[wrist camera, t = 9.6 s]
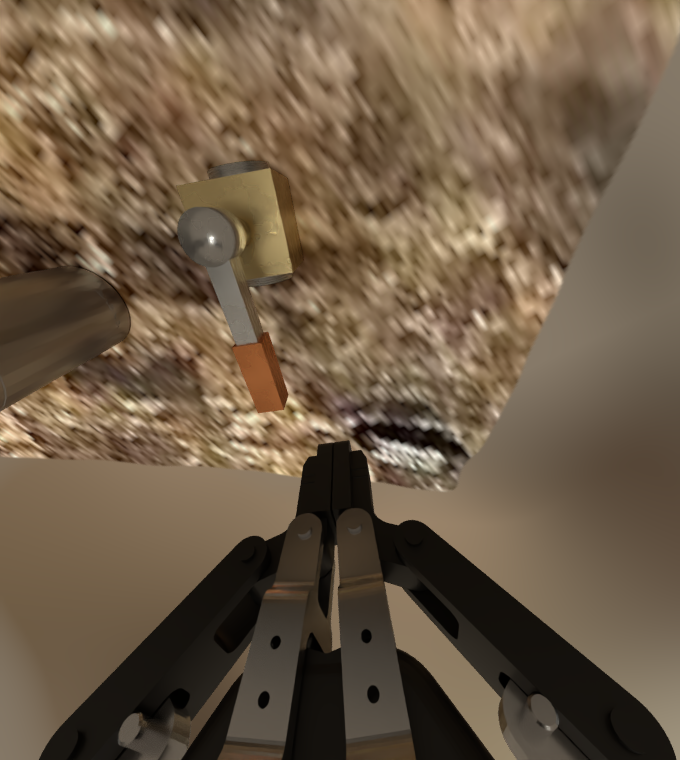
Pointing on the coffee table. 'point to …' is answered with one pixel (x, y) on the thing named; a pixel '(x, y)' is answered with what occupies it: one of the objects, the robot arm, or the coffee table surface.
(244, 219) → the valve housing
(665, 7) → the coffee table surface
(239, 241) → the valve lever
